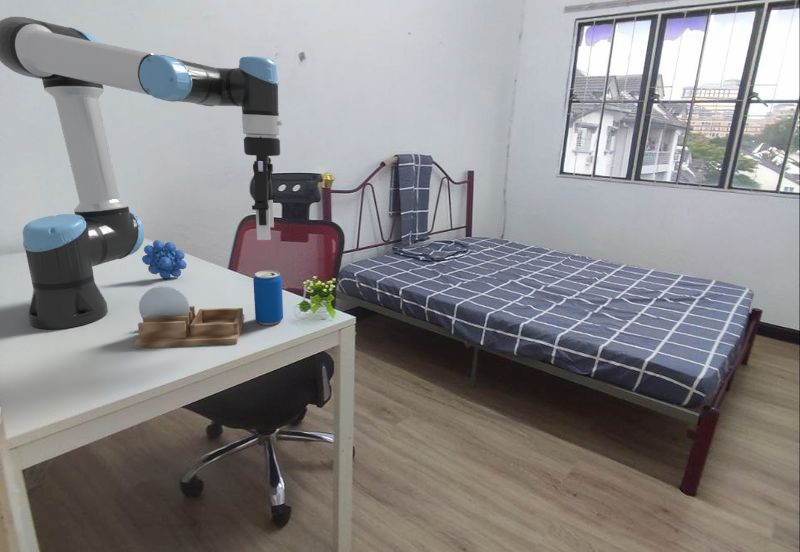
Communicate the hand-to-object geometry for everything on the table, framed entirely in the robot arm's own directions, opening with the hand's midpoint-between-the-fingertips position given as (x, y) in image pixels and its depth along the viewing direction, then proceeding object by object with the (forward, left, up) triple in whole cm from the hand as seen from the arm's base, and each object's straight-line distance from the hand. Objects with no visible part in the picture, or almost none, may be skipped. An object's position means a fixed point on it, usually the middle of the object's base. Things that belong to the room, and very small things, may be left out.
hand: (266, 233), depth 106 cm
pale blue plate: (-22, -6, -20) cm, 30 cm away
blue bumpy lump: (-32, +35, -22) cm, 52 cm away
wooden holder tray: (-16, -5, -22) cm, 27 cm away
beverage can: (0, 0, -22) cm, 22 cm away
